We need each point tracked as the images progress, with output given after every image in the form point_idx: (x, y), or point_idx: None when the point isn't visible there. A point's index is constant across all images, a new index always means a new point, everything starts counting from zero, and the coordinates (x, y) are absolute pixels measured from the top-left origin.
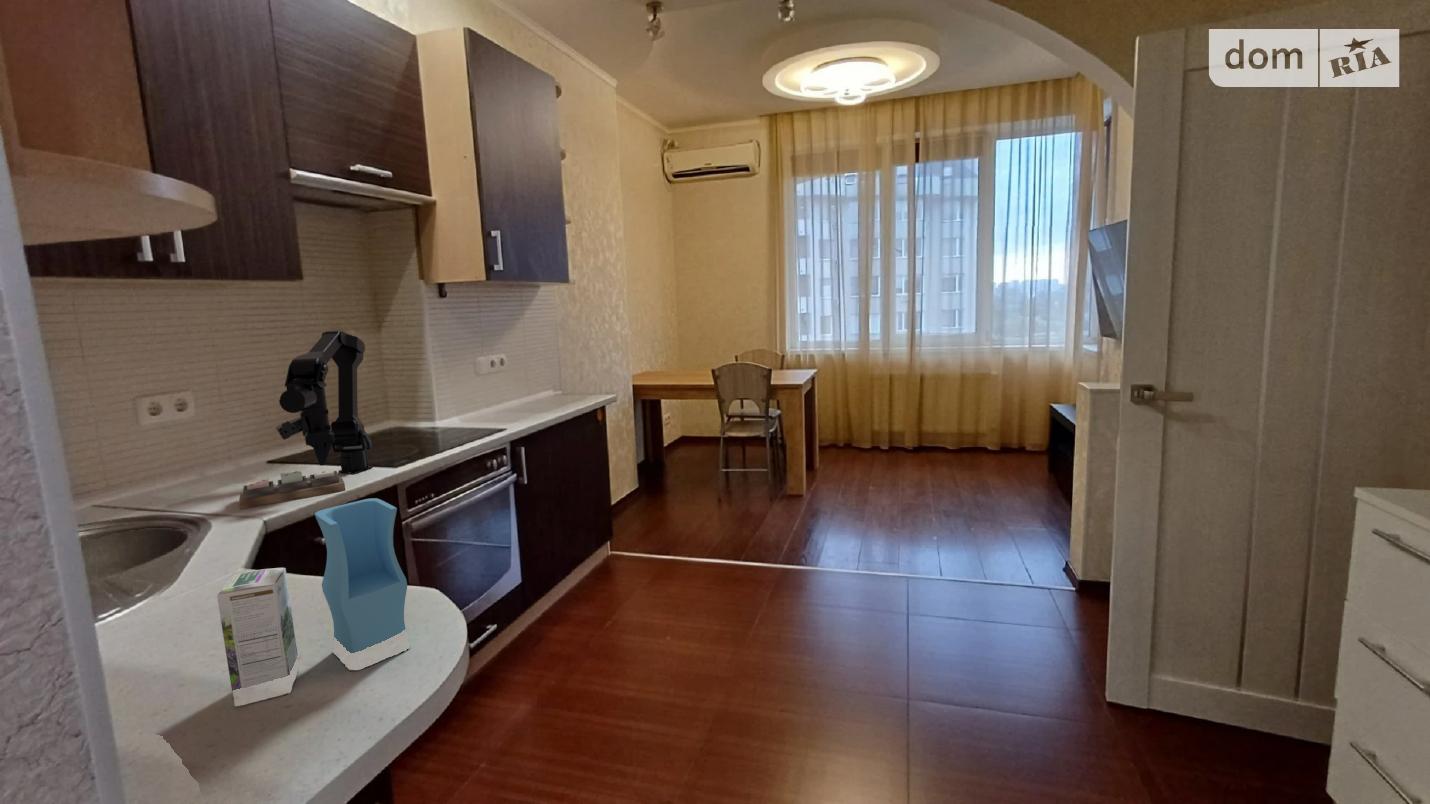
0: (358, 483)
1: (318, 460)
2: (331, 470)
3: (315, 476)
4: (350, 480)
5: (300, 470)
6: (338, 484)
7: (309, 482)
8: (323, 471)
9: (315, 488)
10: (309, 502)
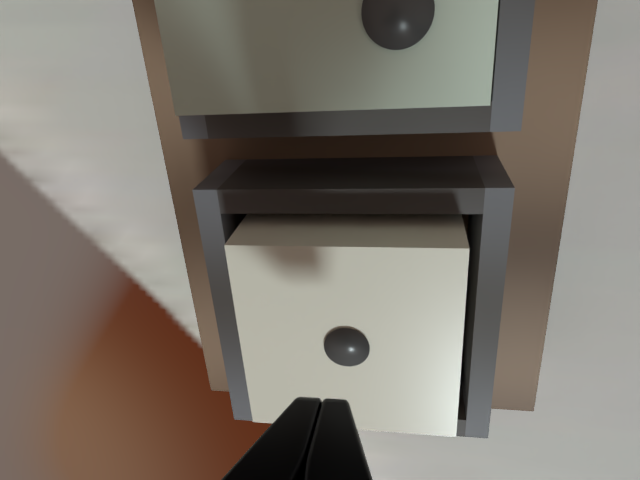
0: (393, 437)
1: (242, 458)
2: (372, 416)
3: (228, 247)
4: (559, 417)
5: (473, 98)
6: (206, 350)
7: (497, 139)
8: (391, 348)
9: (173, 182)
10: (3, 99)
